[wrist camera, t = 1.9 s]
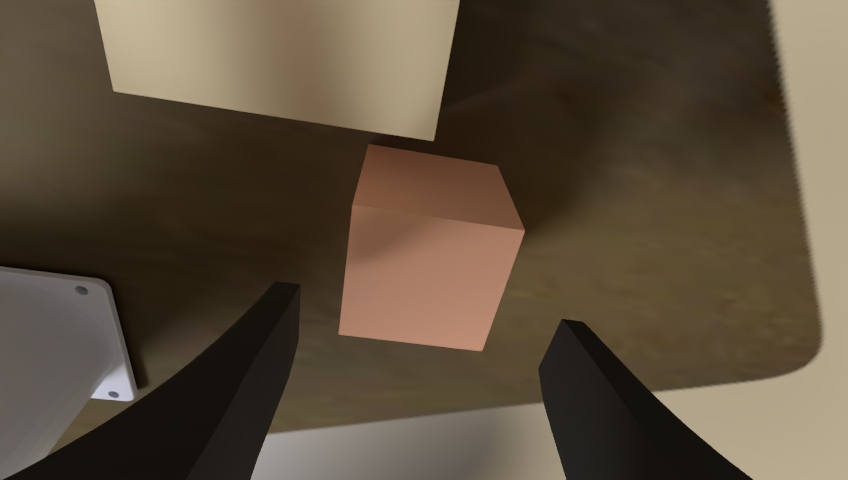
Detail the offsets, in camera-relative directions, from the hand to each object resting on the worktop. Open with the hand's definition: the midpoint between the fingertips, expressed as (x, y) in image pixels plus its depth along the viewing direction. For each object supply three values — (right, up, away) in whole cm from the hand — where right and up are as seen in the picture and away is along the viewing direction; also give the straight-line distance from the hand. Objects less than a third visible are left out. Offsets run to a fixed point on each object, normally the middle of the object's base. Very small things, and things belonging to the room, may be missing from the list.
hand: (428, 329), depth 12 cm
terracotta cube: (0, +4, +6) cm, 7 cm away
